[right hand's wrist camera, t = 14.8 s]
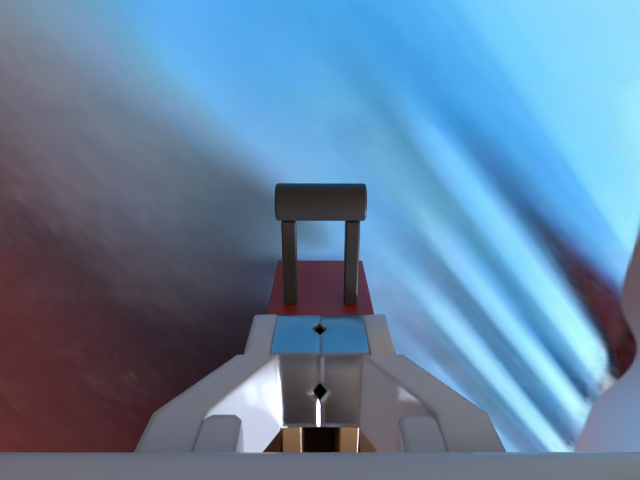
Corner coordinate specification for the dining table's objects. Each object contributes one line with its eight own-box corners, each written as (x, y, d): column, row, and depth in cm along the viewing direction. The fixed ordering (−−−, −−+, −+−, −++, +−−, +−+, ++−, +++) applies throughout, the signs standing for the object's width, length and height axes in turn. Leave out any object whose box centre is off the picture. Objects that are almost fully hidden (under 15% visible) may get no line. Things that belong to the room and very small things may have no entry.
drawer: (274, 161, 23) (248, 215, 14) (366, 162, 23) (393, 215, 14) (285, 479, 30) (272, 634, 22) (353, 479, 30) (366, 635, 22)
